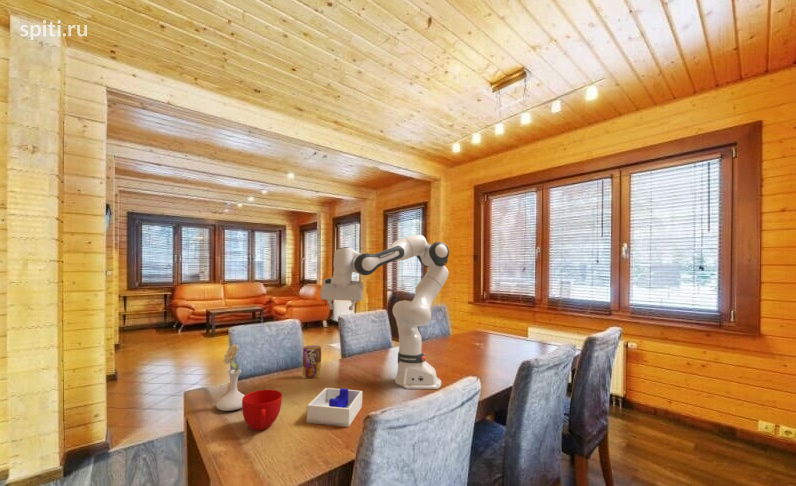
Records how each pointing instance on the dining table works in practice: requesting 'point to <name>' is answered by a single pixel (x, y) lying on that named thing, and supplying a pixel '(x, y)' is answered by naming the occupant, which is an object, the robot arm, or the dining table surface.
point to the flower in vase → (233, 396)
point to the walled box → (334, 408)
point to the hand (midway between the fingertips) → (341, 309)
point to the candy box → (311, 361)
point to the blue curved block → (340, 399)
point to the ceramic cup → (261, 408)
